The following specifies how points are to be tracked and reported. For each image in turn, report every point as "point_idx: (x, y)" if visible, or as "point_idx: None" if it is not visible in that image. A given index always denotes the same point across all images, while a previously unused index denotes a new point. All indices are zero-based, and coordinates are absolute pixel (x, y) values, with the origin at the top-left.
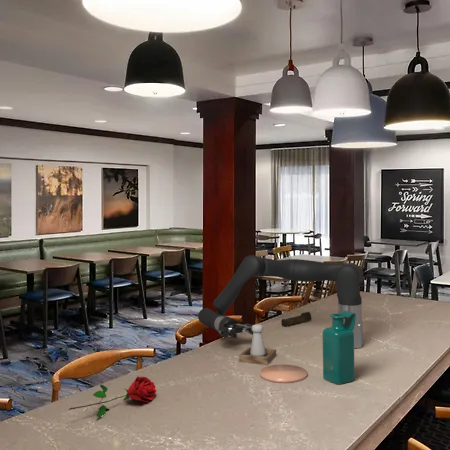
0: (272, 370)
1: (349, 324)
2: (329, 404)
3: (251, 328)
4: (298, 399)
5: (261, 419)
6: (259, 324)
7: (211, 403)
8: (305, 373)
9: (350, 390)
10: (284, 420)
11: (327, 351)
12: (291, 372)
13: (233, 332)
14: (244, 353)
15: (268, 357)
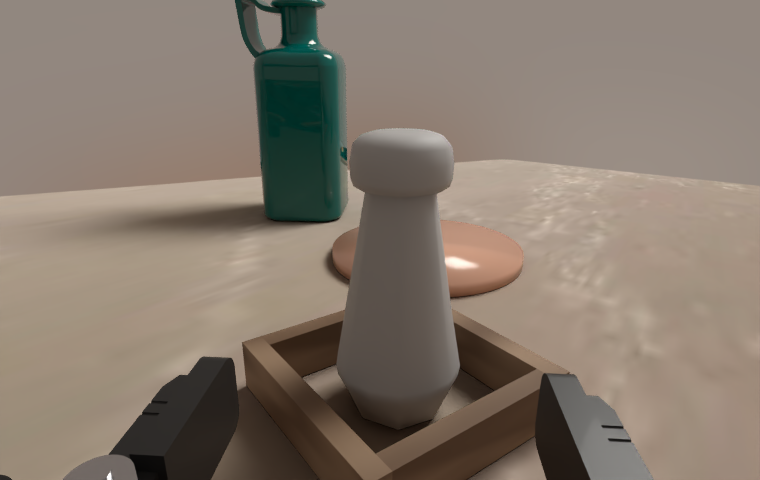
0: (457, 260)
1: (257, 40)
2: None
3: (182, 407)
4: (490, 200)
5: (612, 190)
6: (373, 132)
7: (748, 232)
8: None
9: (348, 192)
10: (565, 183)
11: (342, 121)
12: None
13: (586, 399)
14: (508, 385)
15: None
